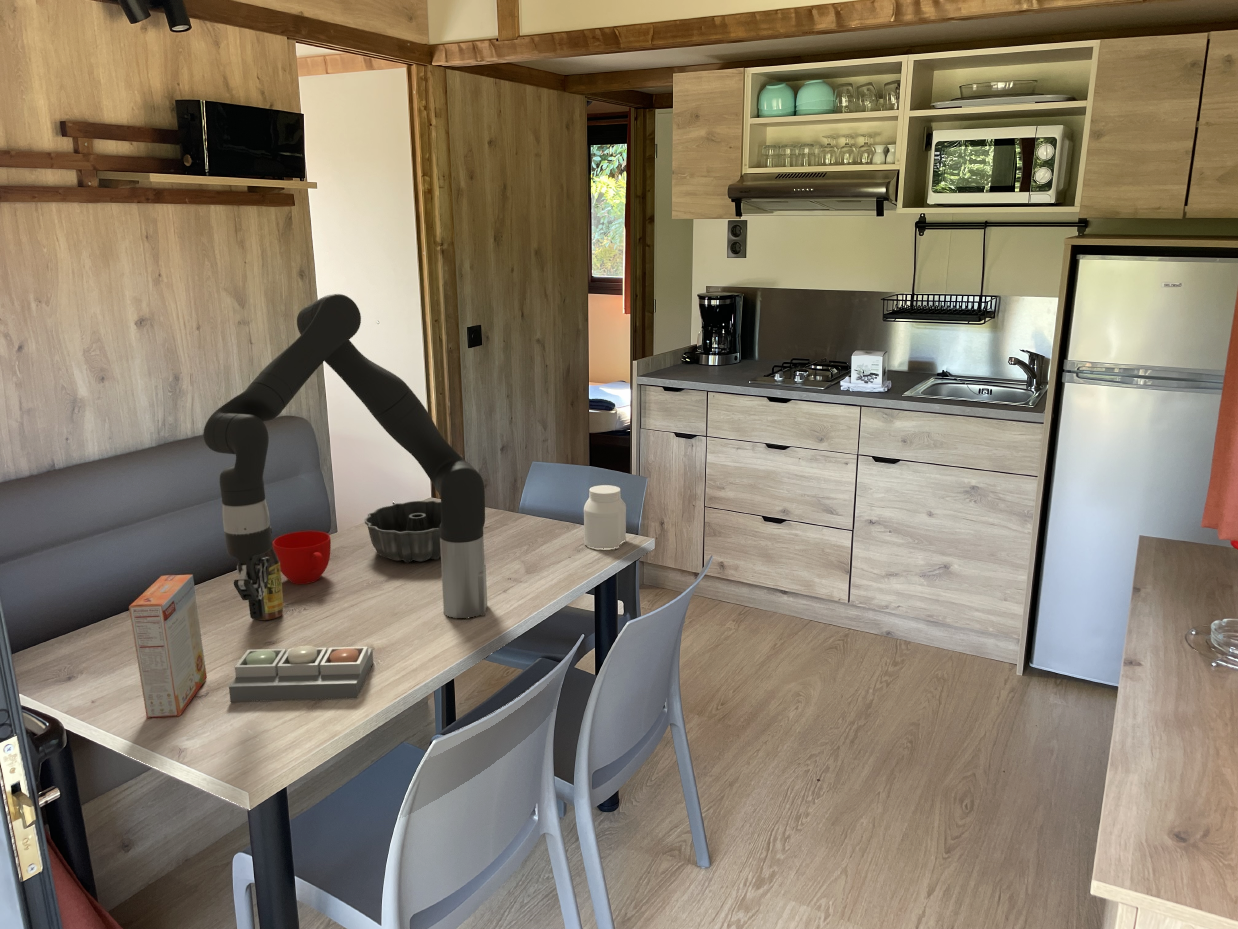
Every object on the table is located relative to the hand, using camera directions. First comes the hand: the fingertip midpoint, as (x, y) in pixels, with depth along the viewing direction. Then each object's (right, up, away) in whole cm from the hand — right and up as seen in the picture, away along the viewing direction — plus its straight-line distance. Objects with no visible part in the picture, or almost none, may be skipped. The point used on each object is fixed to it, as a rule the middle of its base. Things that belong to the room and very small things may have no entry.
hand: (258, 617), depth 165 cm
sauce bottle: (-11, -5, +33) cm, 35 cm away
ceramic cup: (-9, 0, +53) cm, 53 cm away
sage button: (0, -9, +2) cm, 9 cm away
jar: (+61, +6, +79) cm, 100 cm away
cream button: (+7, -8, +3) cm, 11 cm away
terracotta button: (+15, -9, +3) cm, 17 cm away
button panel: (+7, -12, +4) cm, 15 cm away
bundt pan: (+13, +5, +73) cm, 75 cm away
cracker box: (-14, -14, -2) cm, 20 cm away
